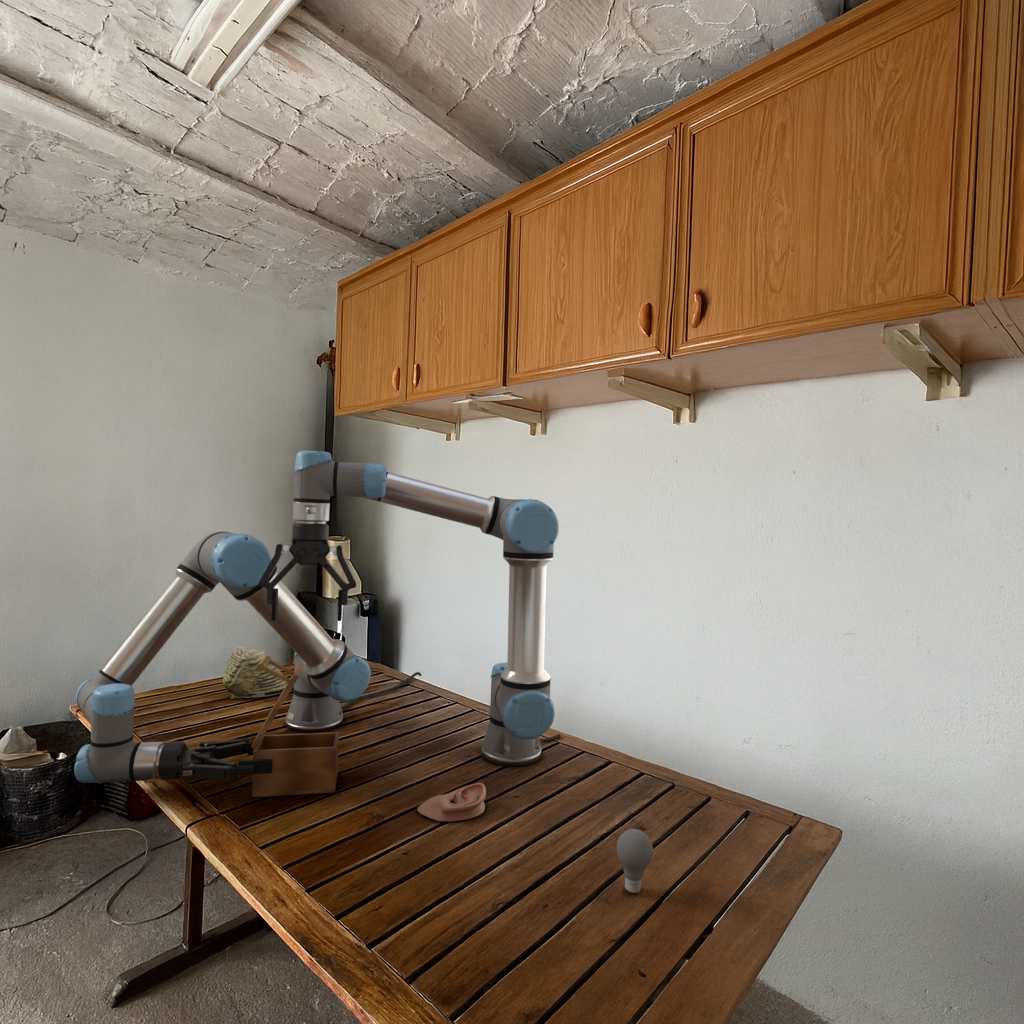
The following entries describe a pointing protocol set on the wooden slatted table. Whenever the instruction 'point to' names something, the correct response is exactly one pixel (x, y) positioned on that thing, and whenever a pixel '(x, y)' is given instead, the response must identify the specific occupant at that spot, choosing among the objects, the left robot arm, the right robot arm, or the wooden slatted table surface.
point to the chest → (297, 764)
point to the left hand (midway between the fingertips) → (275, 756)
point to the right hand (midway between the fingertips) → (307, 619)
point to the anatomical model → (456, 804)
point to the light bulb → (634, 857)
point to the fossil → (250, 675)
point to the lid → (295, 674)
